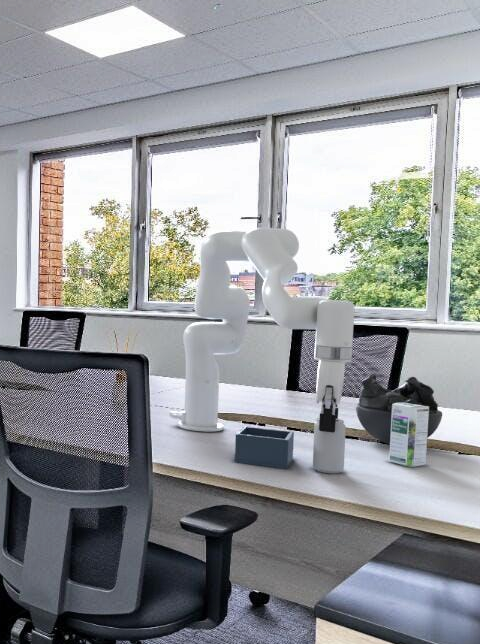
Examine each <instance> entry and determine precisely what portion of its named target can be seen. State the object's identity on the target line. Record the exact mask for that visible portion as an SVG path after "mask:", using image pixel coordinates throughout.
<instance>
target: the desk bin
mask: <svg viewBox="0 0 480 644" xmlns="http://www.w3.org/2000/svg"><path fill="white" fill-rule="evenodd" d="M294 435H295V432H294V431H291V430H282V429H271V428H264V427H255V426H245V425H244V426H242V427H241V428H240V429H239V430H238V431H237V432H236V433H235V441H234V443H235V444H234V463H241V464H246V465H255V466H261V467H268V468H277V469H283V470H284V469H285V470H288V468H289V467H290V465H291V463H292V461H293V459H294V439H295V436H294Z"/></svg>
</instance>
